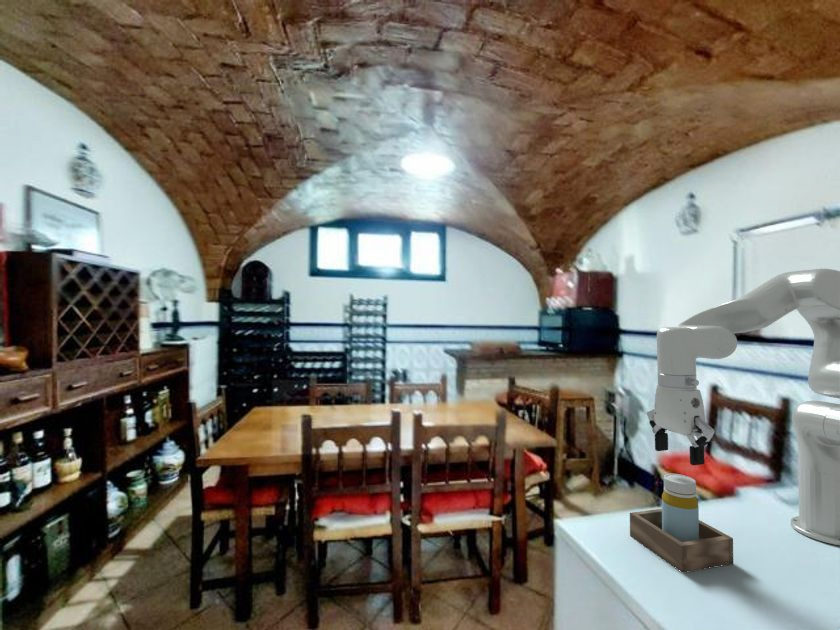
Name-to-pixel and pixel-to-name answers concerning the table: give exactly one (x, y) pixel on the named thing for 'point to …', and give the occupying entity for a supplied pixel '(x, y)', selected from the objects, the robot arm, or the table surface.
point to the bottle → (680, 508)
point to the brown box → (682, 543)
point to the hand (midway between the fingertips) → (678, 457)
